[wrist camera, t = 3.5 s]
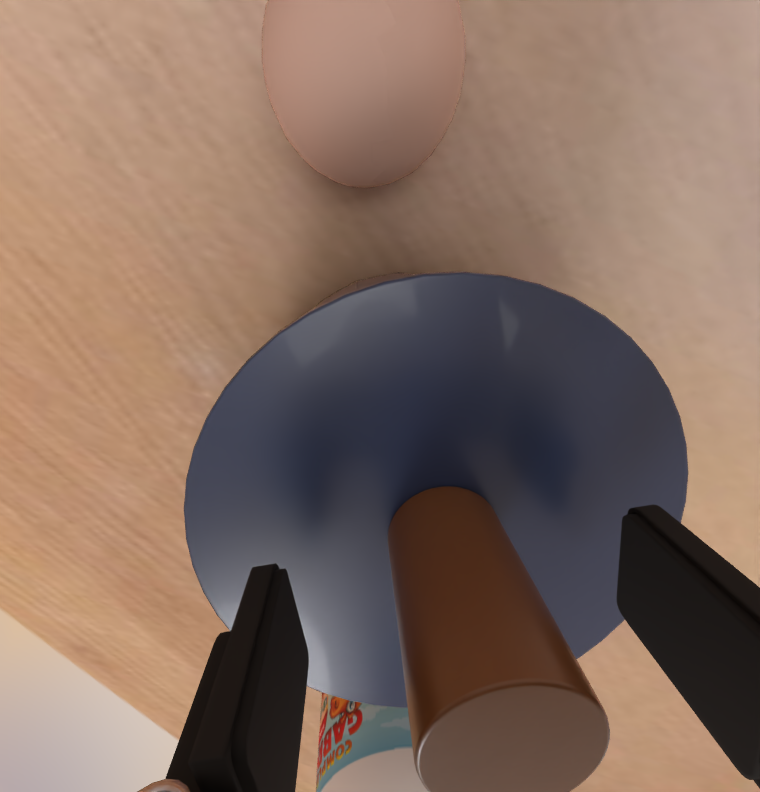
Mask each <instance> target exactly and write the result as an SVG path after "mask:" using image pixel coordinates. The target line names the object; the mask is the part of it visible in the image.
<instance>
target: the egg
mask: <svg viewBox="0 0 760 792" xmlns="http://www.w3.org/2000/svg"><path fill="white" fill-rule="evenodd" d="M465 61H466V50H465V31H464V25H463V20H462V15H461V10H460V5H459V2H458V0H268V1H267V4H266V8H265V15H264V21H263V28H262V63H263V70H264V77H265V83H266V87H267V91H268V94H269V98H270V102H271V106H272V108H273V110H274V112H275V114H276V116H277V119H278V121H279V123H280V125H281V127H282V129H283V132H284V134H285V136H286V138H287V140H288V141H289V142H290V143H291V145H292V146H293V147H294V148H295V150H296V151H297V152H298V153H299V155H300V156H301V157H302V158H303V160H304V161H306V162H307V163H308V164H309V165H310V166H311V167H312V168H314V169H315V170H316V171H317V172H319V173H321V174H323V175H324V176H326V177H328V178H330V179H331V180H333V181H335V182H337V183H340V184H344V185H348V186H351V187H362V188H371V187H377V186H382V185H387V184H390V183H392V182H394V181H396V180H399V179H401V178H403V177H405V176H407V175H409V174H410V173H412V172H413V171H414V170H415V169H416V168H418V167H419V166H420V165H421V164H422V163H423V162H424V161H425V160H426V159H427V158H428V157H429V156H430V155H431V154H432V153H433V151H434V150H435V148H436V147H437V145H438V144H439V142H440V141H441V139H442V138H443V136H444V134H445V132H446V130H447V128H448V126H449V125H450V123H451V121H452V119H453V116H454V113H455V110H456V107H457V104H458V100H459V97H460V94H461V88H462V82H463V75H464V68H465Z"/></svg>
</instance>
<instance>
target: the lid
mask: <svg viewBox="0 0 760 792" xmlns="http://www.w3.org/2000/svg"><path fill="white" fill-rule="evenodd" d="M687 482H688V462H687V447H686V441H685V436H684V432H683V428H682V423H681V419H680V415H679V413H678V410H677V408H676V405H675V403H674V401H673V398H672V396H671V393H670V391H669V388H668V387H667V385H666V384H665V382H664V380H663V379H662V377H661V375H660V374H659V372H658V371H657V369H656V367H655V366H654V364H653V362H652V361H651V360H650V359H649V358H648V356H647V355H646V354H645V353H644V352H643V351H642V350H641V348H640V347H639V346H638V345H637V344H636V343H635V342H634V340H633V339H632V338H631V337H630V336H629V335H627V334H626V333H625V332H624V331H623V330H621V329H620V328H619V327H618V326H617V325H615V324H614V323H613V322H612V321H610V320H609V319H608V318H607V317H606V316H604V315H603V314H601V313H599V312H597V311H596V310H594V309H592V308H591V307H589V306H587V305H586V304H584V303H582V302H581V301H579V300H577V299H575V298H573V297H571V296H568V295H566V294H563V293H561V292H558V291H556V290H553V289H551V288H548V287H546V286H543V285H541V284H537V283H533V282H528V281H524V280H520V279H516V278H511V277H507V276H503V275H494V274H483V273H472V272H461V271H457V272H437V273H420V274H414V275H409V276H404V277H398V278H393V279H388V280H382V281H379V282H376V283H373V284H370V285H367V286H364V287H361V288H358V289H355V290H352V291H349V292H346V293H344V294H342V295H340V296H338V297H336V298H334V299H332V300H330V301H328V302H326V303H324V304H322V305H320V306H318V307H315V308H313V309H311V310H310V311H308V312H307V313H305V314H304V315H302V316H301V317H299V318H298V319H296V320H295V321H293V322H292V323H290V324H289V325H288V326H286V327H285V328H283V329H282V330H280V331H279V332H278V333H277V334H276V335H274V336H273V337H272V338H271V339H270V340H269V341H268V342H267V343H266V344H264V345H263V346H262V347H261V348H260V349H259V350H258V351H257V352H256V353H254V354H253V355H252V356H251V357H250V358H249V359H248V360H247V361H246V363H245V364H244V365H243V366H242V367H241V369H240V370H239V371H238V372H237V373H236V375H235V376H234V377H233V378H232V379H231V381H230V382H229V383H228V384H227V385H226V387H225V388H224V390H223V391H222V393H221V395H220V396H219V398H218V399H217V401H216V403H215V404H214V406H213V408H212V409H211V411H210V413H209V414H208V416H207V418H206V420H205V422H204V425H203V427H202V430H201V432H200V434H199V437H198V439H197V442H196V444H195V446H194V449H193V454H192V458H191V462H190V466H189V470H188V474H187V478H186V490H185V502H184V516H185V529H186V540H187V544H188V548H189V552H190V556H191V561H192V565H193V568H194V570H195V573H196V575H197V578H198V580H199V582H200V585H201V587H202V590H203V592H204V594H205V595H206V597H207V599H208V600H209V602H210V604H211V605H212V607H213V609H214V610H215V612H216V614H217V615H218V617H219V618H220V619H221V620H222V621H223V623H224V624H225V625H226V626H227V628H228V629H229V630H230V631H231V629H232V626H233V623H234V620H235V617H236V614H237V611H238V608H239V605H240V602H241V599H242V595H243V592H244V589H245V586H246V583H247V580H248V577H249V574H250V571H251V569H252V568H253V567H256V566H262V565H269V564H275V563H276V564H277V565H278V566H279V569H284V568H285V569H286V570H287V573H288V576H289V580H290V584H291V588H292V591H293V595H294V599H295V603H296V606H297V610H298V614H299V618H300V621H301V625H302V629H303V633H304V636H305V640H306V644H307V648H308V654H309V668H308V677H307V686H308V687H310V688H313V689H315V690H317V691H320V692H322V693H325V694H329V695H332V696H335V697H339V698H342V699H346V700H349V701H355V702H360V703H365V704H370V705H377V706H388V707H399V708H408V715H409V723H410V731H411V740H412V748H413V756H414V764H415V768H416V772H417V774H418V776H419V778H420V780H421V782H422V784H423V785H424V787H425V788H426V789H427V790H428V791H429V792H570V791H571V790H573V789H574V788H576V787H577V786H579V785H580V784H581V783H582V782H584V781H585V780H586V779H587V778H588V777H589V776H590V775H591V774H592V773H593V772H594V771H595V769H596V768H597V767H598V765H599V764H600V763H601V761H602V759H603V757H604V756H605V753H606V751H607V748H608V744H609V739H610V729H609V723H608V718H607V715H606V713H605V711H604V709H603V707H602V705H601V703H600V701H599V700H598V698H597V696H596V694H595V692H594V691H593V689H592V687H591V685H590V683H589V681H588V680H587V678H586V676H585V674H584V672H583V671H582V669H581V667H580V665H579V663H578V662H577V660H576V659H578V658H579V657H581V656H582V655H584V654H585V653H586V652H588V651H589V650H590V649H592V648H593V647H594V646H595V645H597V644H598V643H599V642H601V641H602V640H603V639H604V638H606V637H607V636H608V635H609V634H610V633H611V632H612V631H613V630H614V629H615V628H616V627H617V626H618V625H620V624H621V623H622V622H623V621H624V620H625V619H624V617H623V616H622V614H621V613H620V611H619V608H618V605H617V584H618V570H619V556H620V541H621V527H622V518H623V516H625V515H627V513H628V510H629V509H630V508H634V507H640V506H647V505H653V504H654V505H658V506H660V507H661V508H663V509H664V510H665V511H666V512H667V513H669V514H670V515H671V516H672V517H674V518H675V519H676V520H677V521H678V522H680V523H681V520H682V515H683V511H684V507H685V502H686V493H687Z"/></svg>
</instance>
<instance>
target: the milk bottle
mask: <svg viewBox="0 0 760 792" xmlns="http://www.w3.org/2000/svg"><path fill="white" fill-rule="evenodd" d="M316 792H429V791H428V790H427V789H426V788H425V787H424V785H423V784H422V782H421V780H420V778H419V776H418V774H417V772H416V768H415V764H414V756H413V748H412V740H411V731H410V723H409V715H408V708H399V707H388V706H377V705H370V704H365V703H360V702H355V701H349V700H346V699H342V698H339V697H335V696H332V695H329V694H325V693H322V701H321V716H320V732H319V747H318V763H317V782H316Z"/></svg>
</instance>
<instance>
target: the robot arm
mask: <svg viewBox="0 0 760 792" xmlns="http://www.w3.org/2000/svg"><path fill="white" fill-rule="evenodd" d="M617 605H618V608H619V611H620V613H621V614H622V616H623V617H624V619H625V620H626V621H627V623H628V624H629V626H630V627H631V628H632V630H633V631H634V632H635V634H636V635H637V636H638V638H639V639H640V640H641V642H642V643H643V644H644V646H645V647H646V648H647V650H648V651H649V652H650V654H651V655H652V656H653V658H654V659H655V660H656V662H657V663H658V664H659V666H660V667H661V668H662V670H663V671H664V672H665V674H666V675H667V676H668V678H669V679H670V680H671V682H672V683H673V684H674V686H675V687H676V688H677V690H678V691H679V692H680V694H681V695H682V696H683V698H684V699H685V700H686V702H687V703H688V704H689V706H690V707H691V708H692V710H693V711H694V712H695V714H696V715H697V716H698V718H699V719H700V720H701V722H702V723H703V724H704V726H705V727H706V728H707V730H708V731H709V732H710V734H711V735H712V736H713V738H714V739H715V740H716V742H717V743H718V744H719V746H720V747H721V748H722V750H723V751H724V752H725V754H726V755H727V756H728V758H729V759H730V760H731V762H732V763H733V764H734V766H735V767H736V768H737V770H738V771H739V772H740V773H741V774H742V775H743V776H744V777H745V778H747V779H749V780H754V782H755V783H756V784H757V785H758V787H759V788H760V588H759V587H758V586H757V585H756V584H755V583H753V582H752V581H751V580H750V579H748V578H747V577H746V576H745V575H744V574H742V573H741V572H740V571H739V570H737V569H736V568H735V567H734V566H732V565H731V564H730V563H729V562H728V561H726V560H725V559H724V558H723V557H721V556H720V555H719V554H718V553H717V552H715V551H714V550H713V549H712V548H710V547H709V546H708V545H707V544H705V543H704V542H703V541H702V540H701V539H699V538H698V537H697V536H696V535H694V534H693V533H692V532H691V531H690V530H688V529H687V528H686V527H685V526H683V525H682V524H681V523H680V522H678V521H677V520H676V519H675V518H674V517H672V516H671V515H670V514H669V513H667V512H666V511H665V510H664V509H663V508H661V507H660V506H658V505H654V504H653V505H647V506H640V507H634V508H630V509H629V510H628V513H627V515H625V516H623V518H622V527H621V541H620V556H619V570H618V584H617ZM308 668H309V654H308V648H307V644H306V640H305V636H304V633H303V629H302V625H301V621H300V618H299V614H298V610H297V606H296V603H295V599H294V595H293V591H292V588H291V584H290V580H289V576H288V573H287V570H286V569H285V568H284V569H279V566H278V565H277V564H276V563H275V564H269V565H262V566H256V567H253V568H252V569H251V571H250V574H249V577H248V580H247V583H246V586H245V589H244V592H243V595H242V599H241V602H240V605H239V608H238V611H237V614H236V617H235V620H234V623H233V626H232V629H231V631H229V632H223V633H220V634H219V636H218V637H217V638H216V641H215V643H214V645H213V648H212V651H211V653H210V656H209V659H208V662H207V665H206V667H205V670H204V673H203V676H202V679H201V681H200V684H199V687H198V690H197V692H196V695H195V698H194V701H193V704H192V706H191V709H190V712H189V715H188V717H187V720H186V723H185V726H184V729H183V731H182V734H181V737H180V740H179V742H178V745H177V748H176V751H175V754H174V756H173V759H172V762H171V765H170V768H169V770H168V773H167V776H166V779H164V780H161V781H157V782H154V783H151V784H150V785H148V786H146V787H144V788H143V789H141V790H139V791H138V792H295V787H296V778H297V769H298V759H299V750H300V741H301V732H302V723H303V714H304V704H305V695H306V686H307V677H308Z"/></svg>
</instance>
